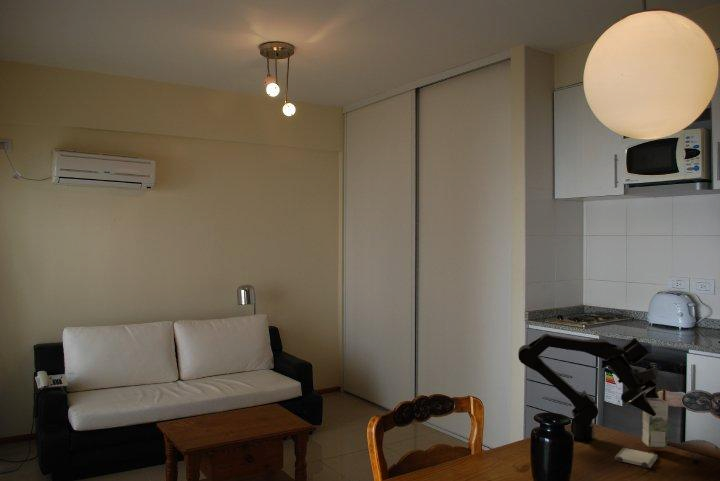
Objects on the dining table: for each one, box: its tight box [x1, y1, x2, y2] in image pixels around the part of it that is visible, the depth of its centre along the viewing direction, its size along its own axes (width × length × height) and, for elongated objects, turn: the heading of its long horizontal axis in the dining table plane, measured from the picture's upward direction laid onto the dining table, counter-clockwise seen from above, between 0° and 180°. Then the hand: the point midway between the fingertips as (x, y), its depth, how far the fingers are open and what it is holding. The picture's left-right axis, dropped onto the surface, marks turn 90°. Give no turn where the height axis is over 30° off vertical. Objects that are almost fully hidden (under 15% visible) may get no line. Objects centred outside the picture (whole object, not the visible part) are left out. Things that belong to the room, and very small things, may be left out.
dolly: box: [614, 446, 658, 469], centre depth 181 cm, size 10×11×2 cm
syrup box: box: [641, 397, 669, 449], centre depth 188 cm, size 6×6×14 cm
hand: (659, 412), depth 187 cm, fingers closed on syrup box, 8 cm apart
